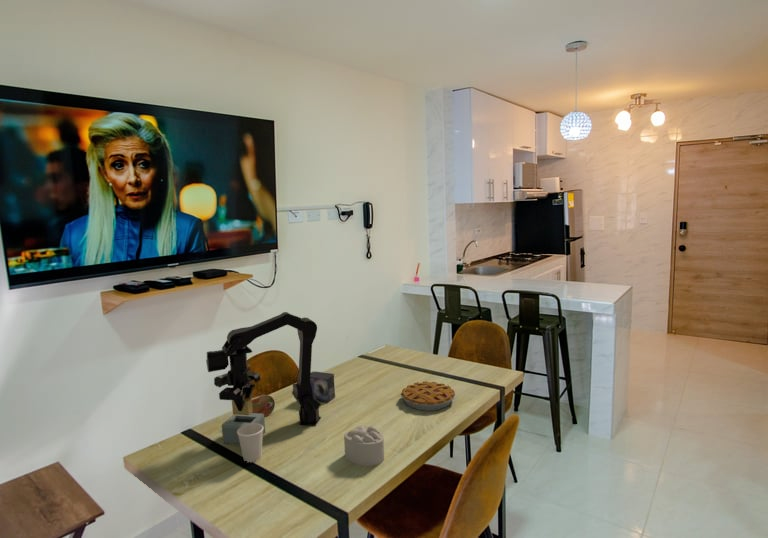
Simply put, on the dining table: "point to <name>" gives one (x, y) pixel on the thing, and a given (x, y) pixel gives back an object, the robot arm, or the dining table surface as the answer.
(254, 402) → the tin
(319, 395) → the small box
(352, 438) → the lumpy-topped squat cylinder
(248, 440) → the dixie cup
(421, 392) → the pie
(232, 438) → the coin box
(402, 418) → the dining table surface
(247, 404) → the tan rectangular block
